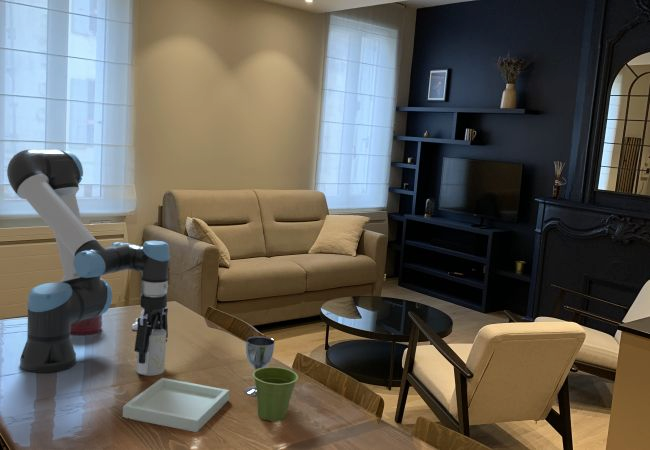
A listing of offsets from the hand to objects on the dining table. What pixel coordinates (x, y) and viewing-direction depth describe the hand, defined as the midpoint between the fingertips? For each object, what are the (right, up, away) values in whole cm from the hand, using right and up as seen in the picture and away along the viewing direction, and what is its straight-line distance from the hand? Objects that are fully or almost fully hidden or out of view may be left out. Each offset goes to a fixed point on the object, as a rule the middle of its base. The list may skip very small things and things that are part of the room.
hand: (150, 367), depth 187 cm
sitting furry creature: (-13, +6, +40) cm, 42 cm away
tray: (+14, -5, -23) cm, 28 cm away
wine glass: (+33, -5, -8) cm, 34 cm away
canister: (-32, +6, +31) cm, 45 cm away
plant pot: (+38, -8, -23) cm, 45 cm away
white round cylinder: (0, -1, 0) cm, 1 cm away
